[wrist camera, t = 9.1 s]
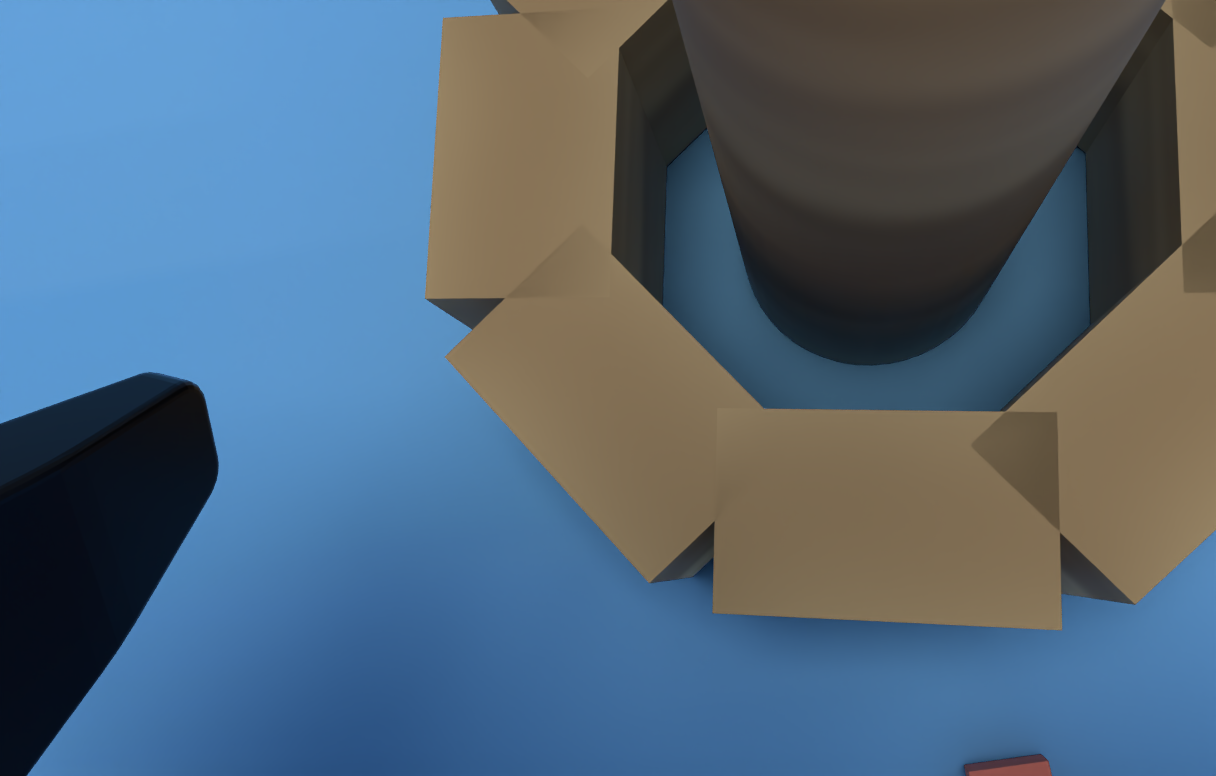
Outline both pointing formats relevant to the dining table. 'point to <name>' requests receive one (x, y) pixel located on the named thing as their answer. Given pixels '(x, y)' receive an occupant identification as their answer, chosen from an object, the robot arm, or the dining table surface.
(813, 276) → the tall brown cylinder
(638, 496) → the tan segmented ring
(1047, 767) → the brick-red rectangular plank
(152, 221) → the dining table surface
